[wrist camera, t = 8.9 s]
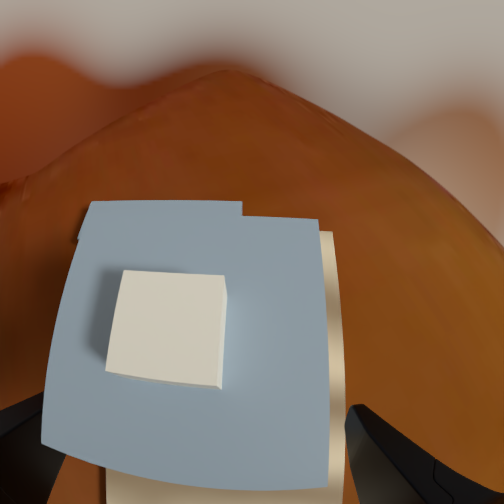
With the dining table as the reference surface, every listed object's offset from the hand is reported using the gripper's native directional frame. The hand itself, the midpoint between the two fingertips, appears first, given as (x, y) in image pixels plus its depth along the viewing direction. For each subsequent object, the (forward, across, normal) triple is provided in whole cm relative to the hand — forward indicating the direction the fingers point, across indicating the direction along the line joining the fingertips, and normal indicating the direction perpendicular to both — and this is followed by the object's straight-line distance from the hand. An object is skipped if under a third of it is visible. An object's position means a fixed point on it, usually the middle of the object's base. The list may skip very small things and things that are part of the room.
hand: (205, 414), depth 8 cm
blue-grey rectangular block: (+7, 0, +4) cm, 8 cm away
